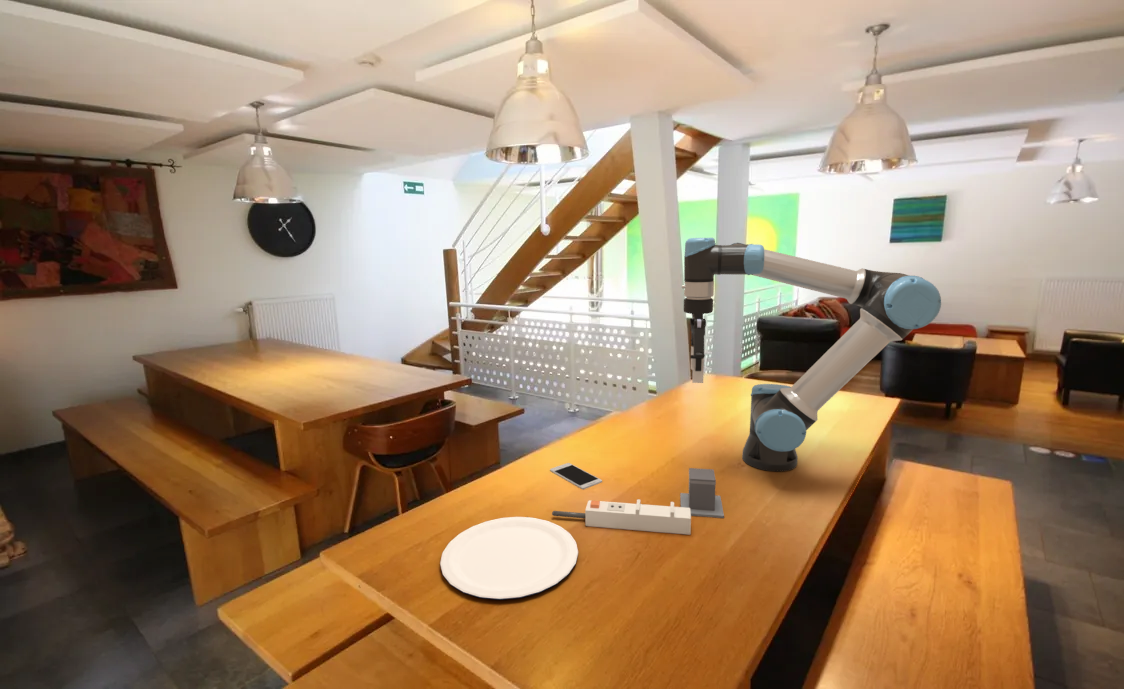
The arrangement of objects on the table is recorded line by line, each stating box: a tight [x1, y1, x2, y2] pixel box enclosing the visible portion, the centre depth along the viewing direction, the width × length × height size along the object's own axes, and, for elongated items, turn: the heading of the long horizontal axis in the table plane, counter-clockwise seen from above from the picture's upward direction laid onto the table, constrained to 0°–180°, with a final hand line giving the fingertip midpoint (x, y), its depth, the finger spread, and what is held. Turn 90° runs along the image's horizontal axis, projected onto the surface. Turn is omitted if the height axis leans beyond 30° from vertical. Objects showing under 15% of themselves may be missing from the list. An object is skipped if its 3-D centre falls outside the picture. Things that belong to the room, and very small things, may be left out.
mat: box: [679, 492, 725, 519], centre depth 131 cm, size 10×10×1 cm
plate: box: [439, 516, 579, 601], centre depth 113 cm, size 29×29×2 cm
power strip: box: [551, 499, 692, 536], centre depth 124 cm, size 33×5×5 cm, turn 78°
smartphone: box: [549, 462, 603, 491], centre depth 150 cm, size 7×16×1 cm, turn 37°
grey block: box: [688, 467, 717, 511], centre depth 130 cm, size 6×6×8 cm
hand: (696, 375), depth 143 cm, fingers open, 13 cm apart
